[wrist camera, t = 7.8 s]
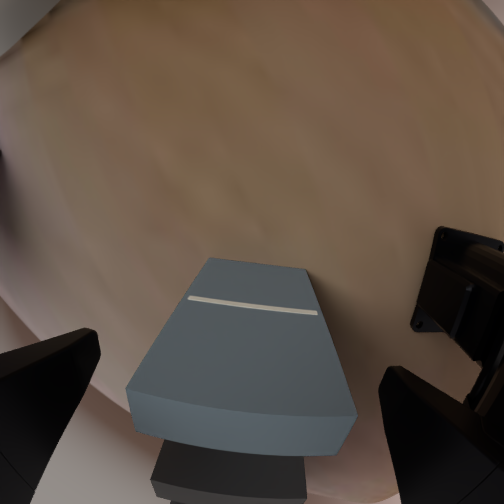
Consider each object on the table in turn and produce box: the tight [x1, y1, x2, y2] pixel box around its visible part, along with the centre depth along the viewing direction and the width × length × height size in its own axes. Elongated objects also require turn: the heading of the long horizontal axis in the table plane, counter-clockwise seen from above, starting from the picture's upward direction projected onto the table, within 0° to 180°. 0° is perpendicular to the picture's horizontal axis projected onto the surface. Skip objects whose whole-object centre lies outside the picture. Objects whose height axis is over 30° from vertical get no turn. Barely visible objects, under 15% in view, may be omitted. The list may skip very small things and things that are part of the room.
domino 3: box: [150, 439, 307, 504], centre depth 11 cm, size 5×2×10 cm, turn 84°
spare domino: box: [126, 258, 358, 456], centre depth 10 cm, size 5×2×10 cm, turn 84°
